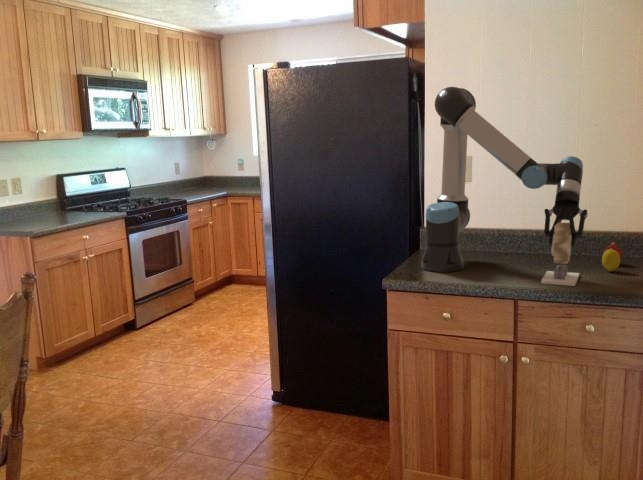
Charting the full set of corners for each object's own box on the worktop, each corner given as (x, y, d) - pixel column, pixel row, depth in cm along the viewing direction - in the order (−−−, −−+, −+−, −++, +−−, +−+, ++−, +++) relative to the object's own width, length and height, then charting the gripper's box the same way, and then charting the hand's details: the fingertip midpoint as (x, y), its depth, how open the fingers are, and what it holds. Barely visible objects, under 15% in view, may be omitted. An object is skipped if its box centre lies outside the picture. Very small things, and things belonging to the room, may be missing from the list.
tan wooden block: (553, 263, 189) (554, 226, 187) (556, 258, 196) (557, 222, 194) (567, 264, 187) (568, 226, 185) (569, 258, 194) (570, 222, 192)
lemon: (621, 273, 198) (622, 250, 196) (603, 273, 199) (604, 250, 197) (616, 269, 203) (618, 246, 202) (599, 269, 204) (600, 246, 203)
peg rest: (541, 283, 189) (541, 271, 188) (547, 273, 201) (547, 262, 201) (574, 286, 184) (575, 273, 184) (579, 276, 197) (579, 264, 196)
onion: (613, 266, 207) (614, 244, 206) (599, 263, 213) (600, 242, 211) (624, 264, 210) (625, 242, 209) (610, 261, 215) (611, 240, 214)
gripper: (595, 203, 198) (590, 261, 187) (542, 202, 206) (533, 258, 195) (595, 189, 193) (589, 248, 181) (540, 189, 201) (531, 245, 189)
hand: (560, 253), depth 188 cm, fingers closed on tan wooden block, 4 cm apart
